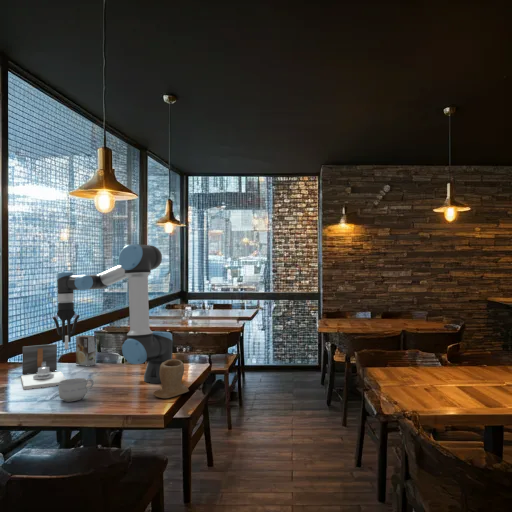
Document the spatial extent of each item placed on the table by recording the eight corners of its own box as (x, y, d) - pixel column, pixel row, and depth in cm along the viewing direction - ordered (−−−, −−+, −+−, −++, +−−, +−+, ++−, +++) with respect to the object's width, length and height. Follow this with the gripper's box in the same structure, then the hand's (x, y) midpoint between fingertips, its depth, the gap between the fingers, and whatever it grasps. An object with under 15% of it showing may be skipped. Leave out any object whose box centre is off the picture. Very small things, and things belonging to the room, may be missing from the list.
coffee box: (96, 364, 256) (96, 335, 256) (88, 366, 250) (88, 337, 250) (83, 363, 259) (83, 334, 260) (75, 365, 253) (75, 336, 254)
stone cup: (167, 402, 181) (168, 364, 182) (149, 397, 189) (149, 361, 189) (196, 394, 193) (196, 359, 193) (177, 389, 200) (177, 355, 201)
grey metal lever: (54, 378, 215) (54, 368, 215) (32, 380, 212) (32, 370, 212) (53, 370, 232) (53, 361, 233) (34, 372, 229) (34, 362, 229)
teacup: (59, 405, 178) (59, 384, 178) (57, 398, 188) (57, 378, 188) (96, 400, 185) (96, 380, 185) (92, 394, 194) (92, 375, 194)
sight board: (56, 371, 238) (57, 344, 239) (22, 374, 230) (22, 347, 231) (56, 370, 240) (56, 343, 240) (22, 374, 232) (22, 346, 232)
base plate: (67, 384, 210) (67, 380, 211) (23, 389, 202) (23, 385, 202) (60, 373, 232) (60, 370, 232) (21, 378, 223) (21, 374, 223)
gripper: (52, 303, 224) (53, 351, 223) (80, 301, 231) (81, 348, 229) (50, 302, 230) (51, 349, 229) (78, 301, 237) (79, 346, 236)
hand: (66, 348), depth 229 cm, fingers closed
